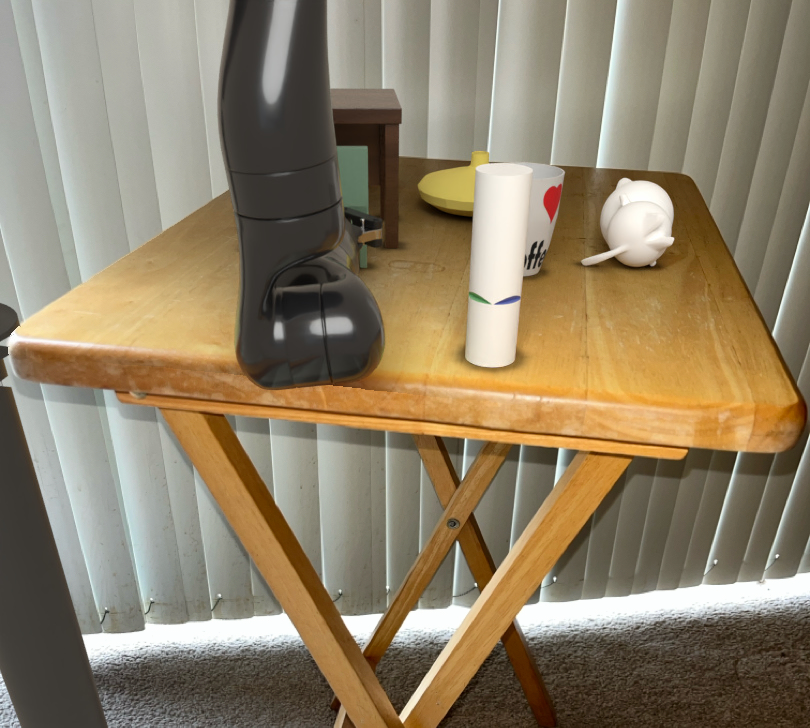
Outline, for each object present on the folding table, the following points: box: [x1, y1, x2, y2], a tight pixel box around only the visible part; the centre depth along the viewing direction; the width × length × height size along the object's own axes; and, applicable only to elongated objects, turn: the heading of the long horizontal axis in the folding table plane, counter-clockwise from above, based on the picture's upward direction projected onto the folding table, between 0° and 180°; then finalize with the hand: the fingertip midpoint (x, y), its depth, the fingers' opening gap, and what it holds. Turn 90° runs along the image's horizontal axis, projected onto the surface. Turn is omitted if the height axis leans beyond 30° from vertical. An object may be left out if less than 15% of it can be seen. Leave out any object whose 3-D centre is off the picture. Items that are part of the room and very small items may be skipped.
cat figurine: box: [580, 177, 675, 268], centre depth 92 cm, size 9×11×12 cm
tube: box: [464, 162, 533, 368], centre depth 67 cm, size 4×4×15 cm
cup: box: [506, 161, 566, 277], centre depth 88 cm, size 8×8×10 cm
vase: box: [417, 150, 490, 217], centre depth 108 cm, size 16×16×7 cm
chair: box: [337, 146, 370, 269], centre depth 91 cm, size 10×10×12 cm
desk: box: [330, 88, 403, 249], centre depth 97 cm, size 14×18×14 cm
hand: (319, 208), depth 87 cm, fingers closed
